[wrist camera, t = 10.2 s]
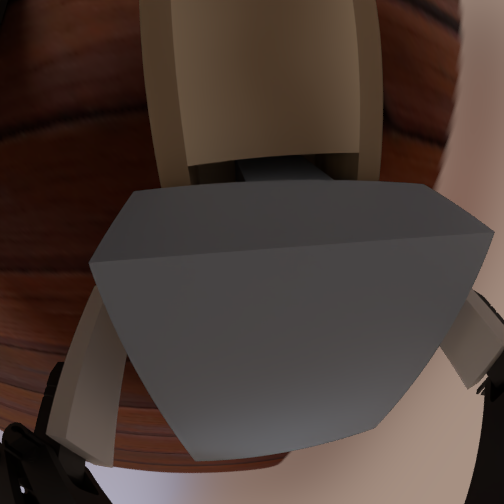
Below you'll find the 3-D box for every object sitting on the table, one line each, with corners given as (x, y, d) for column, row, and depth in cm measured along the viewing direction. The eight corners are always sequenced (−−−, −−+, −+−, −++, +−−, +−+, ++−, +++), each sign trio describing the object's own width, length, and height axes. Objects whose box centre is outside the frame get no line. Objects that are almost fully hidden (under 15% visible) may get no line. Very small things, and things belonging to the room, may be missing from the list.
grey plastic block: (191, 341, 15) (195, 461, 9) (160, 155, 9) (88, 262, 3) (329, 325, 16) (374, 428, 10) (362, 152, 10) (494, 231, 4)
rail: (230, 393, 19) (236, 439, 16) (162, -2, 6) (139, -45, 3) (307, 380, 20) (320, 423, 16) (318, -7, 7) (367, -40, 3)
